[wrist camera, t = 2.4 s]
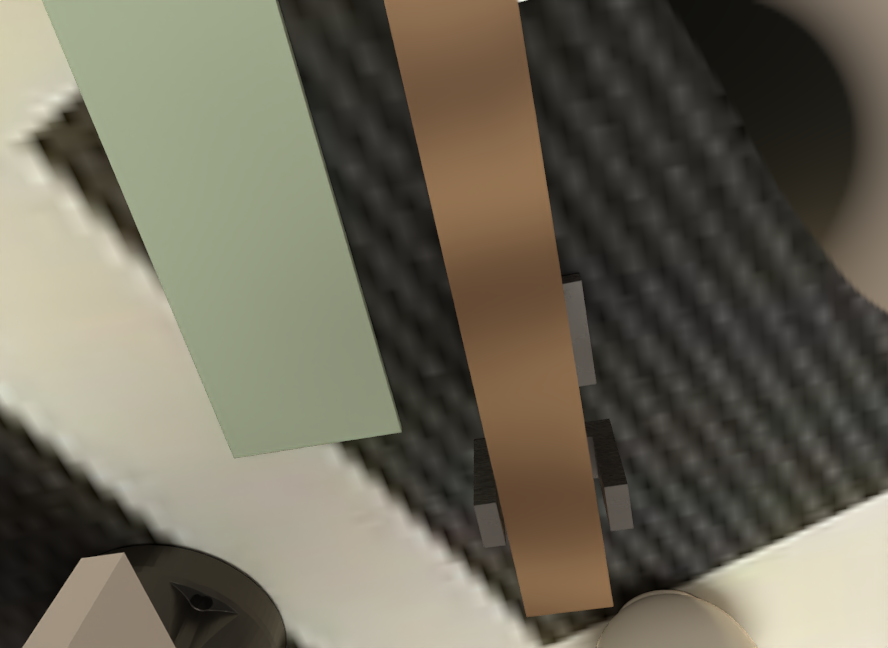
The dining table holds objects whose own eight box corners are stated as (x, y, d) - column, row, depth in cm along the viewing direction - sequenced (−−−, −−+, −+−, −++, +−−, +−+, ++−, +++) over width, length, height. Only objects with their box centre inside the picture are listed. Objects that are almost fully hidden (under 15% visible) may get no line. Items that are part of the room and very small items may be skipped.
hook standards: (593, 374, 39) (647, 568, 27) (483, 391, 40) (486, 588, 28) (514, -169, 29) (541, -264, 16) (366, -130, 29) (284, -192, 17)
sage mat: (402, 428, 42) (401, 432, 41) (236, 454, 43) (234, 458, 43) (237, -141, 29) (234, -142, 29) (13, -81, 31) (8, -81, 30)
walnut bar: (593, 508, 30) (613, 606, 25) (519, 518, 30) (526, 617, 26) (479, -195, 19) (479, -240, 15) (369, -165, 20) (337, -200, 15)
